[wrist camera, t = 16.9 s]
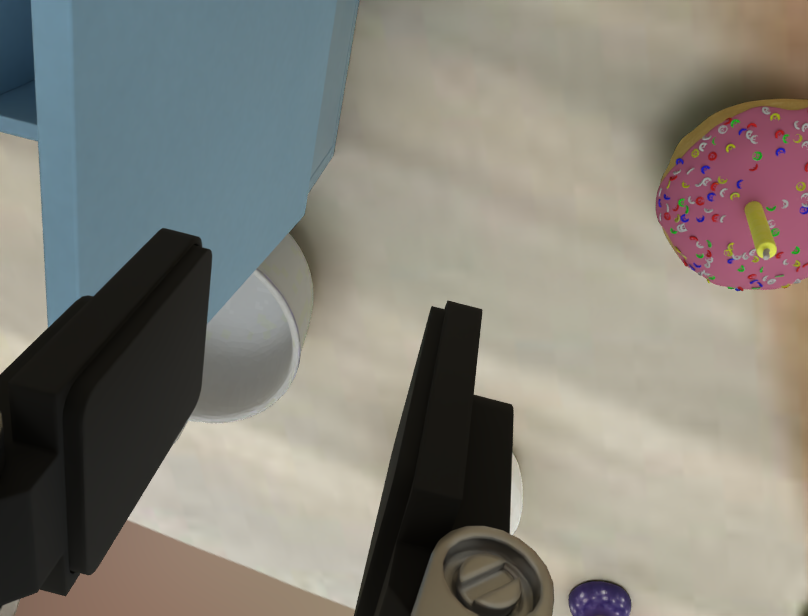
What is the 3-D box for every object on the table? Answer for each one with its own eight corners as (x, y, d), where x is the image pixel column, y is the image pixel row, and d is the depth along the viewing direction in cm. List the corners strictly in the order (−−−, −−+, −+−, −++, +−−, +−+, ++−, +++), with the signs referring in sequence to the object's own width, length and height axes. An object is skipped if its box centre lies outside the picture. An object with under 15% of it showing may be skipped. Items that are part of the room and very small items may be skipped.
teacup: (193, 135, 39) (123, 193, 33) (368, 247, 41) (336, 324, 34) (103, 316, 46) (29, 395, 40) (257, 405, 48) (211, 495, 41)
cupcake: (613, 204, 38) (642, 331, 28) (706, 40, 34) (782, 120, 23) (766, 267, 39) (851, 414, 28) (878, 115, 34) (1026, 224, 24)
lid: (52, 455, 19) (82, 465, 19) (9, -343, 11) (61, -330, 11) (287, 210, 33) (305, 215, 33) (346, -220, 25) (370, -214, 24)
